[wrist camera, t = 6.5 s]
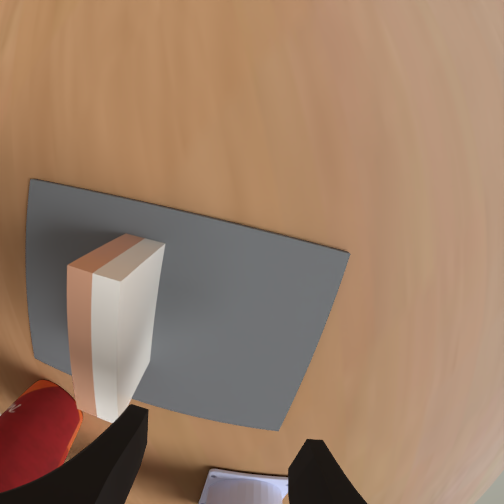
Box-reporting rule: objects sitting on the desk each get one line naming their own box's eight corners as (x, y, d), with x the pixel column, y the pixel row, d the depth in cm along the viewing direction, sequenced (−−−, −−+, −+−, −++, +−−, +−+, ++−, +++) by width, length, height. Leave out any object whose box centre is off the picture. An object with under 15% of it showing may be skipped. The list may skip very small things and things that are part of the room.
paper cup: (17, 357, 19) (-72, 453, 5) (87, 387, 19) (6, 521, 6) (36, 415, 21) (-25, 506, 7) (99, 443, 21) (49, 555, 7)
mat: (278, 427, 20) (278, 431, 19) (37, 355, 18) (34, 358, 18) (348, 251, 16) (350, 253, 16) (34, 178, 15) (30, 179, 15)
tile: (149, 361, 18) (118, 425, 12) (116, 350, 18) (77, 408, 12) (165, 243, 16) (120, 281, 10) (125, 233, 16) (67, 264, 10)
